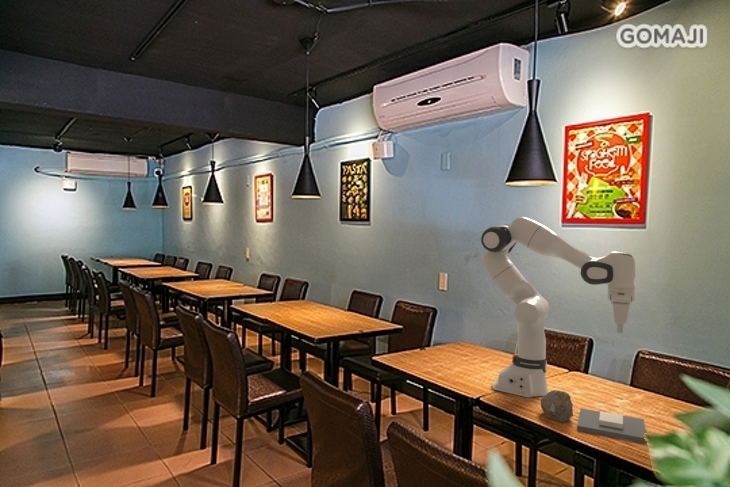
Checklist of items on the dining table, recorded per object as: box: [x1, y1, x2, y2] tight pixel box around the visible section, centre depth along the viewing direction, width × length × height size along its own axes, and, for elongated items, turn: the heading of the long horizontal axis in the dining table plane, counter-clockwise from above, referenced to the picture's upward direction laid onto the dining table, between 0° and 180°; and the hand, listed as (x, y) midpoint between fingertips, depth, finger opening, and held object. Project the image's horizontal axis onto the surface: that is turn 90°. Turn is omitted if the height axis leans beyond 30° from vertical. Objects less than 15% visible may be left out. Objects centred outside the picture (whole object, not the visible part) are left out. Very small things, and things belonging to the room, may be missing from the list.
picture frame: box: [599, 411, 624, 429], centre depth 163 cm, size 7×2×9 cm
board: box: [576, 408, 647, 444], centre depth 163 cm, size 20×18×2 cm
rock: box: [540, 389, 574, 423], centre depth 170 cm, size 14×10×8 cm
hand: (619, 332), depth 178 cm, fingers closed
